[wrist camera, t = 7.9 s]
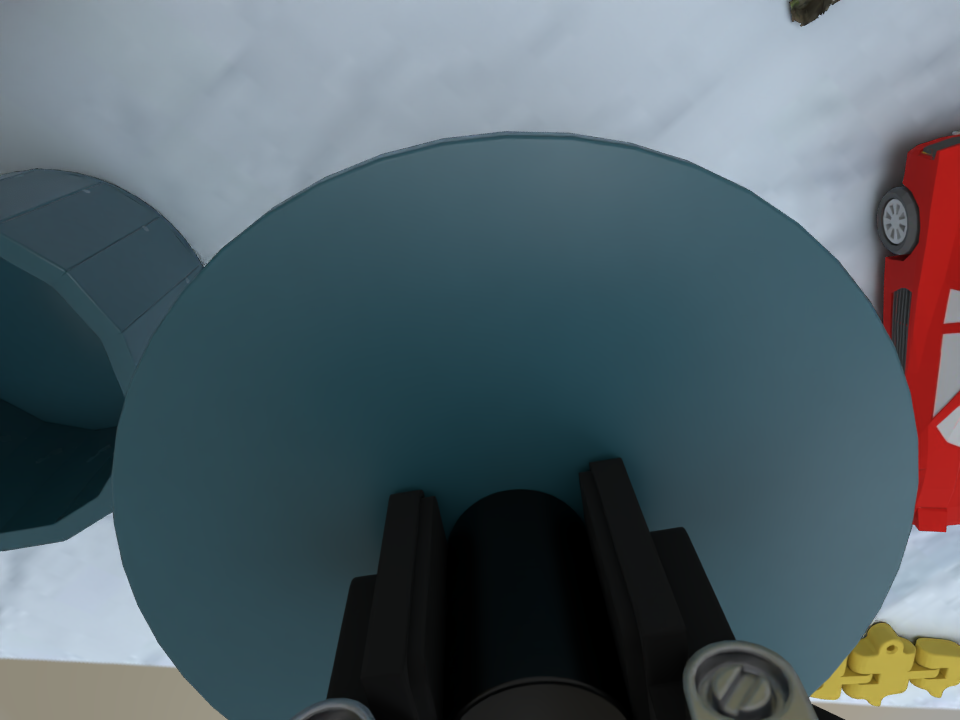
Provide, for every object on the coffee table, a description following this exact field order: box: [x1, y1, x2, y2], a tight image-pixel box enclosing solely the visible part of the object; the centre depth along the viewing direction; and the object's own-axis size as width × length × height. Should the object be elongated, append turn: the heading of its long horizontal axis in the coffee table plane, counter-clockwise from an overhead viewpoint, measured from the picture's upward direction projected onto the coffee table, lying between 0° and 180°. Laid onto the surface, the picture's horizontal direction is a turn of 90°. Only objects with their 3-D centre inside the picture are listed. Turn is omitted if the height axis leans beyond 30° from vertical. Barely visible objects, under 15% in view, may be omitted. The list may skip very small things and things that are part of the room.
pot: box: [0, 168, 203, 551], centre depth 29 cm, size 13×13×8 cm
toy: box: [810, 623, 960, 706], centre depth 42 cm, size 15×1×5 cm
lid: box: [111, 131, 919, 720], centre depth 11 cm, size 14×14×5 cm
